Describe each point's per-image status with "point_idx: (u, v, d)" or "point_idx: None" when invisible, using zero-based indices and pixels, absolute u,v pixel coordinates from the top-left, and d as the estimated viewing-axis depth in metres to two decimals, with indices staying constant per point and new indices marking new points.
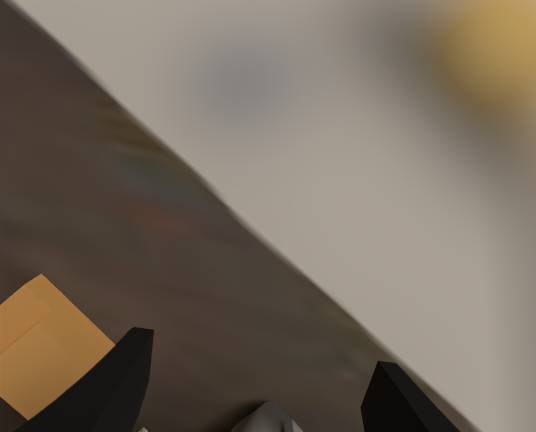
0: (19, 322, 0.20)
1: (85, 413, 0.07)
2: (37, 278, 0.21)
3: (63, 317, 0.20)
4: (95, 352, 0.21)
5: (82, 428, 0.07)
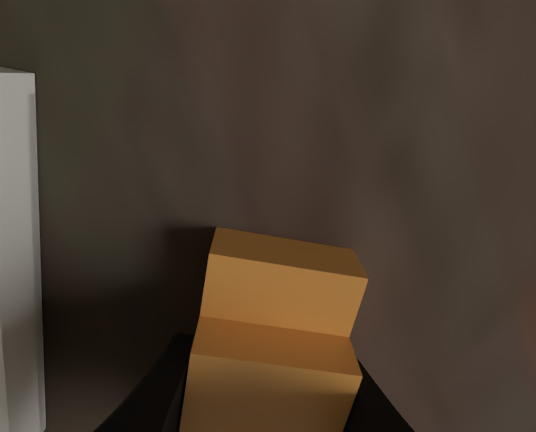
0: (293, 310, 0.10)
1: (151, 420, 0.07)
2: None
3: None
4: None
5: None
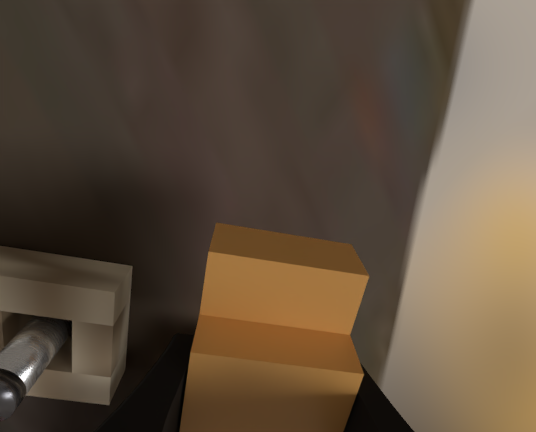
0: (294, 308, 0.10)
1: (151, 420, 0.07)
2: None
3: None
4: None
5: None
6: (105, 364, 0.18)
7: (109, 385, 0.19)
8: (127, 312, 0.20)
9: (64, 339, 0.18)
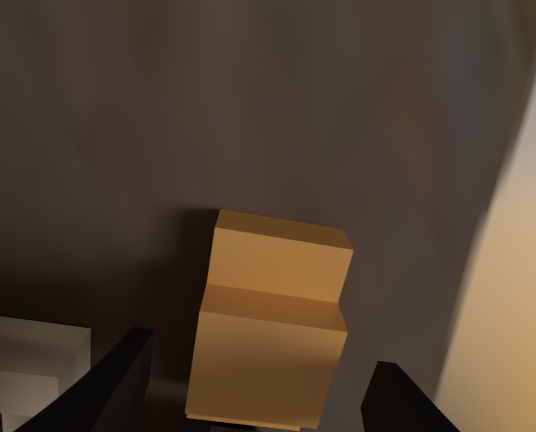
0: (288, 278, 0.12)
1: (86, 413, 0.07)
2: None
3: None
4: None
5: (83, 428, 0.07)
6: None
7: None
8: None
9: None
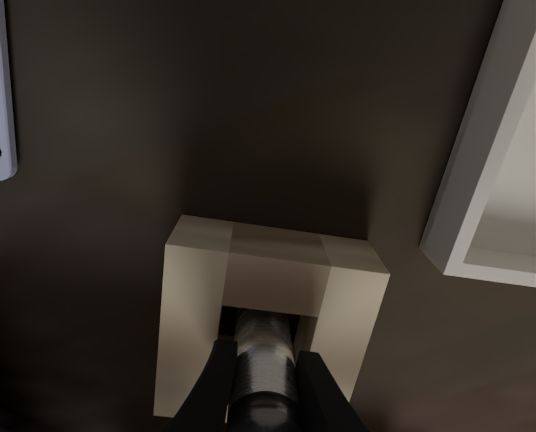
0: None
1: (210, 427, 0.08)
2: None
3: None
4: None
5: None
6: None
7: None
8: None
9: None
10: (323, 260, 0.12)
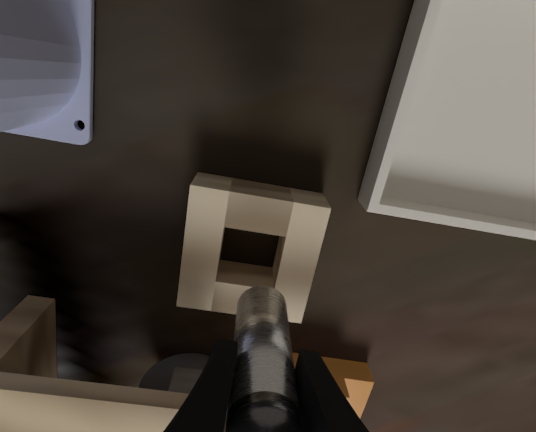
0: None
1: (210, 428, 0.08)
2: None
3: None
4: None
5: None
6: (226, 309, 0.20)
7: (200, 308, 0.20)
8: None
9: None
10: (289, 199, 0.18)
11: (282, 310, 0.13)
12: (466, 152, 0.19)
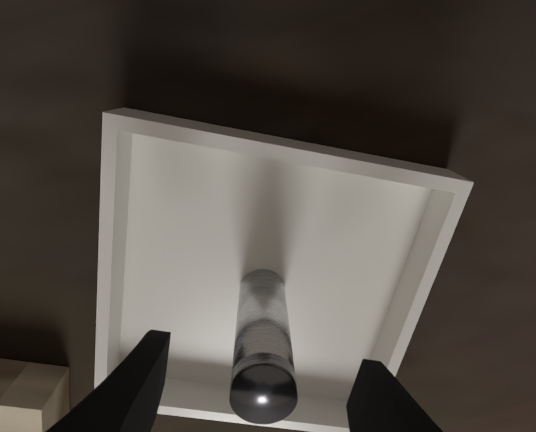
0: None
1: (111, 415, 0.07)
2: None
3: None
4: None
5: None
6: None
7: None
8: None
9: None
10: None
11: (282, 291, 0.15)
12: (217, 331, 0.17)
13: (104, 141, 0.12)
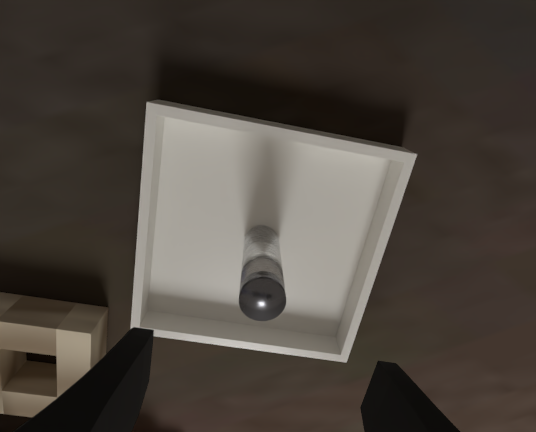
0: None
1: (86, 413, 0.07)
2: None
3: None
4: None
5: (83, 428, 0.07)
6: (17, 412, 0.22)
7: None
8: None
9: None
10: (55, 324, 0.21)
11: (276, 240, 0.20)
12: (226, 277, 0.22)
13: (147, 123, 0.17)
